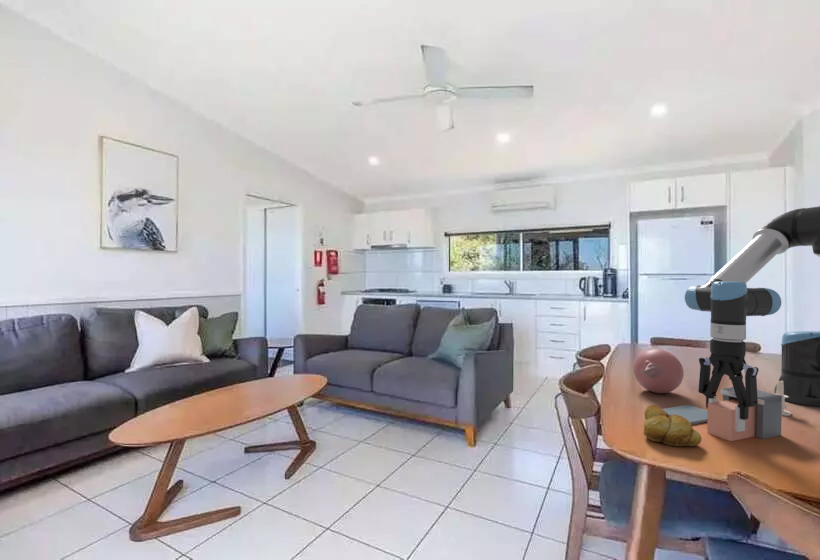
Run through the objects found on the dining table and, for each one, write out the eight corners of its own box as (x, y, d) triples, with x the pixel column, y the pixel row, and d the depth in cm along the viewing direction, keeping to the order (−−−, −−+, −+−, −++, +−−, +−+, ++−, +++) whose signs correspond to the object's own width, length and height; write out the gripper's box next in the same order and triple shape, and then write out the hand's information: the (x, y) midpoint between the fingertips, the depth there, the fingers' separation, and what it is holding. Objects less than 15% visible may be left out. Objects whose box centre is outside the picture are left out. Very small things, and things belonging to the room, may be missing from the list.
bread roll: (703, 443, 106) (704, 412, 106) (697, 456, 99) (697, 422, 99) (647, 430, 115) (647, 401, 115) (637, 440, 108) (637, 410, 108)
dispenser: (739, 421, 121) (740, 385, 120) (782, 435, 111) (782, 396, 110) (719, 425, 118) (720, 388, 117) (761, 439, 108) (762, 399, 108)
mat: (688, 407, 134) (688, 404, 134) (724, 418, 123) (724, 415, 123) (646, 414, 127) (646, 411, 127) (680, 426, 117) (680, 423, 117)
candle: (766, 412, 128) (767, 378, 128) (770, 408, 132) (771, 376, 131) (789, 417, 124) (790, 382, 124) (792, 413, 128) (793, 379, 127)
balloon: (619, 393, 148) (619, 350, 148) (644, 384, 160) (644, 344, 160) (667, 404, 136) (667, 357, 136) (690, 393, 148) (690, 350, 148)
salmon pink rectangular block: (739, 426, 117) (739, 398, 117) (763, 434, 112) (764, 404, 111) (707, 432, 113) (707, 403, 113) (730, 441, 107) (731, 410, 107)
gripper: (683, 335, 118) (681, 416, 118) (758, 346, 100) (756, 442, 101) (701, 333, 120) (700, 412, 121) (778, 344, 103) (776, 437, 103)
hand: (726, 426), depth 111 cm, fingers closed on salmon pink rectangular block, 6 cm apart
